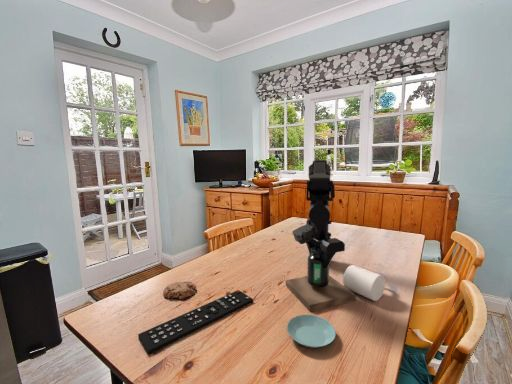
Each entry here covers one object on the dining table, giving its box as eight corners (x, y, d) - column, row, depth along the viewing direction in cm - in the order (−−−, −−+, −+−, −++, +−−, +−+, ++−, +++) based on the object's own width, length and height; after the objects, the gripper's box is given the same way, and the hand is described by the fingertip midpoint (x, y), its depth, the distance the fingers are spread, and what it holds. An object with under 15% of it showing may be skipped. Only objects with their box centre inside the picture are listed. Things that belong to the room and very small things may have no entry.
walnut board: (325, 277, 94) (325, 272, 94) (355, 300, 79) (355, 294, 79) (285, 285, 89) (285, 280, 89) (309, 311, 74) (309, 305, 74)
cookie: (162, 289, 89) (161, 281, 89) (193, 283, 93) (192, 275, 93) (164, 304, 80) (163, 295, 80) (198, 296, 84) (198, 288, 84)
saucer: (326, 320, 70) (326, 313, 70) (342, 353, 59) (343, 344, 58) (283, 323, 70) (283, 315, 70) (291, 356, 58) (291, 347, 58)
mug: (371, 305, 77) (372, 280, 76) (342, 291, 85) (342, 268, 84) (390, 291, 84) (392, 268, 83) (362, 280, 92) (363, 259, 91)
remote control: (253, 303, 80) (253, 297, 80) (148, 357, 60) (148, 349, 59) (239, 293, 86) (239, 288, 86) (138, 339, 65) (137, 332, 65)
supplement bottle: (320, 290, 79) (320, 253, 77) (303, 282, 85) (303, 247, 83) (333, 283, 84) (334, 248, 82) (316, 275, 89) (316, 242, 87)
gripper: (283, 213, 87) (283, 257, 89) (312, 227, 69) (312, 281, 72) (312, 210, 90) (311, 252, 93) (346, 222, 73) (345, 274, 75)
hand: (318, 263), depth 83 cm, fingers closed on supplement bottle, 7 cm apart
